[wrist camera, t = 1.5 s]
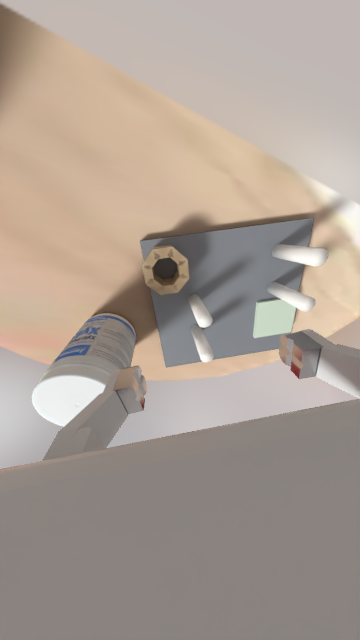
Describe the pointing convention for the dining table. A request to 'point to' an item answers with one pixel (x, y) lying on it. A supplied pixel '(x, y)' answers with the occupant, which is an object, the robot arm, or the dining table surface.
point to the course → (230, 288)
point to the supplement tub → (84, 367)
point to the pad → (273, 318)
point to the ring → (170, 283)
